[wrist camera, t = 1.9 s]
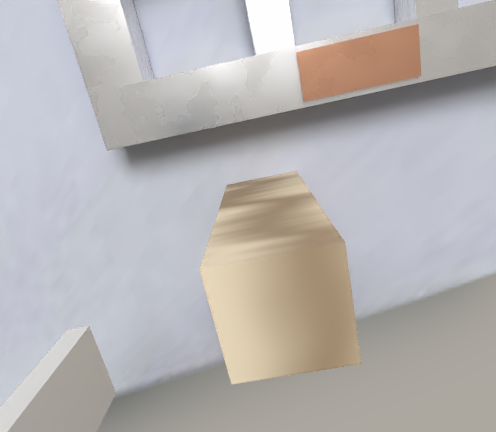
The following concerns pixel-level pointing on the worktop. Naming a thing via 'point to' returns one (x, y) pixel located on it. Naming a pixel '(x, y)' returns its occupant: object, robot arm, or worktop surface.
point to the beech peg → (278, 282)
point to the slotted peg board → (266, 65)
